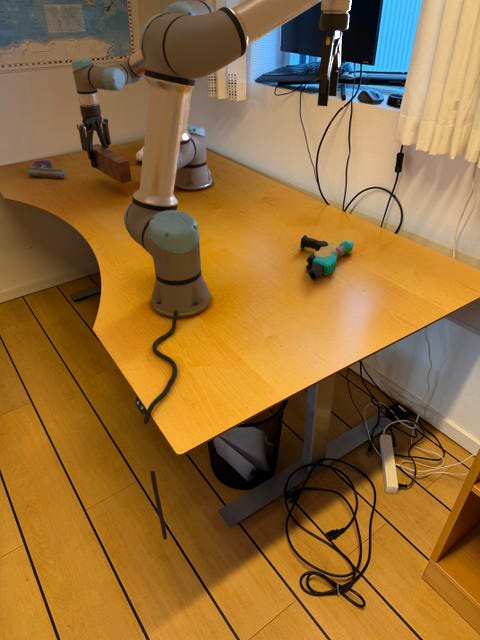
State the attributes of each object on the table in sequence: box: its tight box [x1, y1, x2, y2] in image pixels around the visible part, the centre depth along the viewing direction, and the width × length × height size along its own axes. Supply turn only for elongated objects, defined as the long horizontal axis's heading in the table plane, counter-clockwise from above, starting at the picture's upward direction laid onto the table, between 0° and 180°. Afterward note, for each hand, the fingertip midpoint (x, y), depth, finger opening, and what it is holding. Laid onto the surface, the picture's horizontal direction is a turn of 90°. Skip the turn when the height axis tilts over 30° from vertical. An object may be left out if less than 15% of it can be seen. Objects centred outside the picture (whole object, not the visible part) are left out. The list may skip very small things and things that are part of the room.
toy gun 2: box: [299, 234, 355, 282], centre depth 140 cm, size 4×26×15 cm
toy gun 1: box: [26, 159, 67, 179], centre depth 208 cm, size 4×19×15 cm
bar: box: [93, 143, 133, 184], centre depth 187 cm, size 24×4×8 cm, turn 41°
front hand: (327, 100), depth 136 cm, fingers open, 13 cm apart
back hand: (100, 165), depth 195 cm, fingers closed on bar, 5 cm apart
